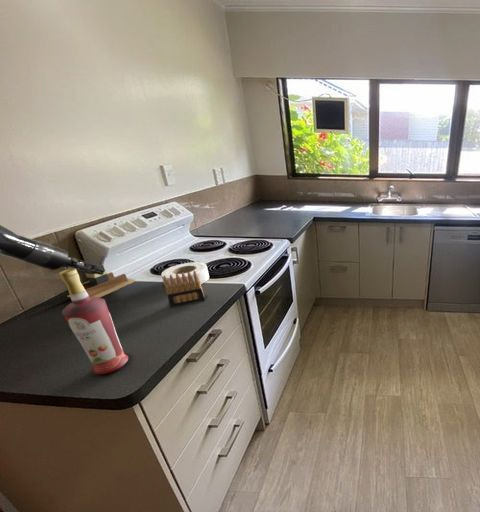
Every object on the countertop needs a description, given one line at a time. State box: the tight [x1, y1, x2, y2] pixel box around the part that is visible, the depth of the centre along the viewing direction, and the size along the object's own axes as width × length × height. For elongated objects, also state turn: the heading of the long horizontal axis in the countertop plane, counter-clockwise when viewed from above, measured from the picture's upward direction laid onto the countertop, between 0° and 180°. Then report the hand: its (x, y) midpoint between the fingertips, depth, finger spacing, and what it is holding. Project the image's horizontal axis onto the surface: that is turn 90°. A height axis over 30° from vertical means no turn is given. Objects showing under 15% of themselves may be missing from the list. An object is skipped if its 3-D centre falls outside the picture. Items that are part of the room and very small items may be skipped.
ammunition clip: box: [162, 271, 206, 308], centre depth 102 cm, size 11×2×12 cm, turn 117°
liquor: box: [58, 269, 129, 375], centre depth 69 cm, size 7×7×28 cm
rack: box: [66, 271, 135, 300], centre depth 112 cm, size 11×16×4 cm
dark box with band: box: [84, 263, 109, 287], centre depth 111 cm, size 4×4×9 cm
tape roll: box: [160, 261, 210, 290], centre depth 118 cm, size 16×16×6 cm
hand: (94, 271), depth 110 cm, fingers open, 8 cm apart
